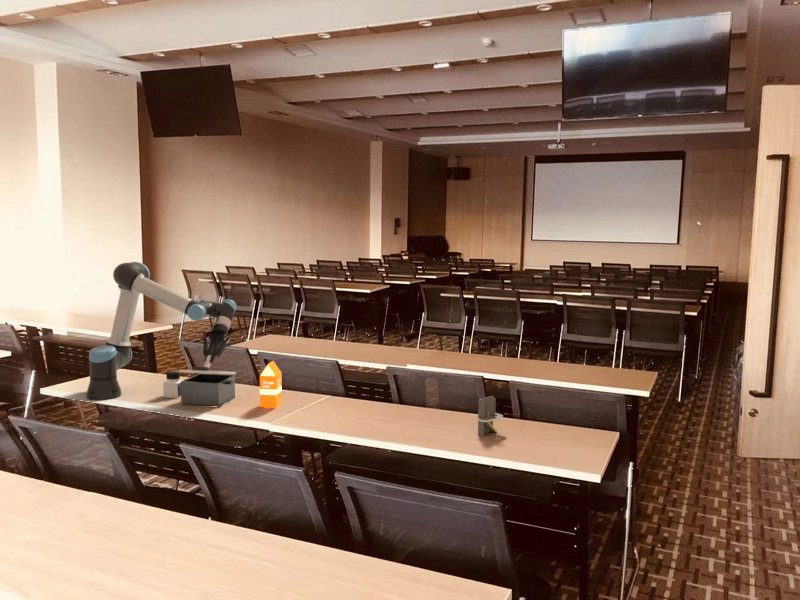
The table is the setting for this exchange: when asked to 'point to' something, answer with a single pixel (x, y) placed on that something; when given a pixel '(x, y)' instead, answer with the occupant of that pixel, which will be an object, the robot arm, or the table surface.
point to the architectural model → (487, 415)
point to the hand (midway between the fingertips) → (206, 368)
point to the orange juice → (271, 386)
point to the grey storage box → (207, 390)
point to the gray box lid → (205, 371)
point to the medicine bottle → (172, 385)
